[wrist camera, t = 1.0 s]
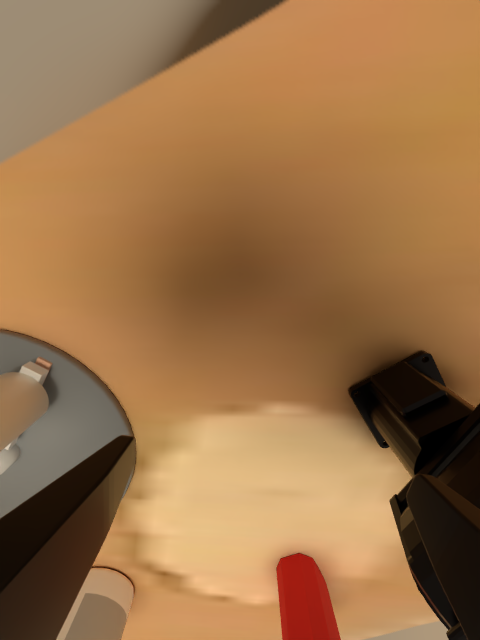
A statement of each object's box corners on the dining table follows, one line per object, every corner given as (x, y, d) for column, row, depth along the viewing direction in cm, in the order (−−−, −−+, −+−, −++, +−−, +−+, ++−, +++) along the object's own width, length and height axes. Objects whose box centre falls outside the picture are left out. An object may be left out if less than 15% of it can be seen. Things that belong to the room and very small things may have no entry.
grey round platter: (183, 472, 23) (177, 495, 21) (19, 557, 26) (0, 584, 24) (5, 273, 18) (-27, 277, 16) (-170, 410, 21) (-215, 429, 19)
